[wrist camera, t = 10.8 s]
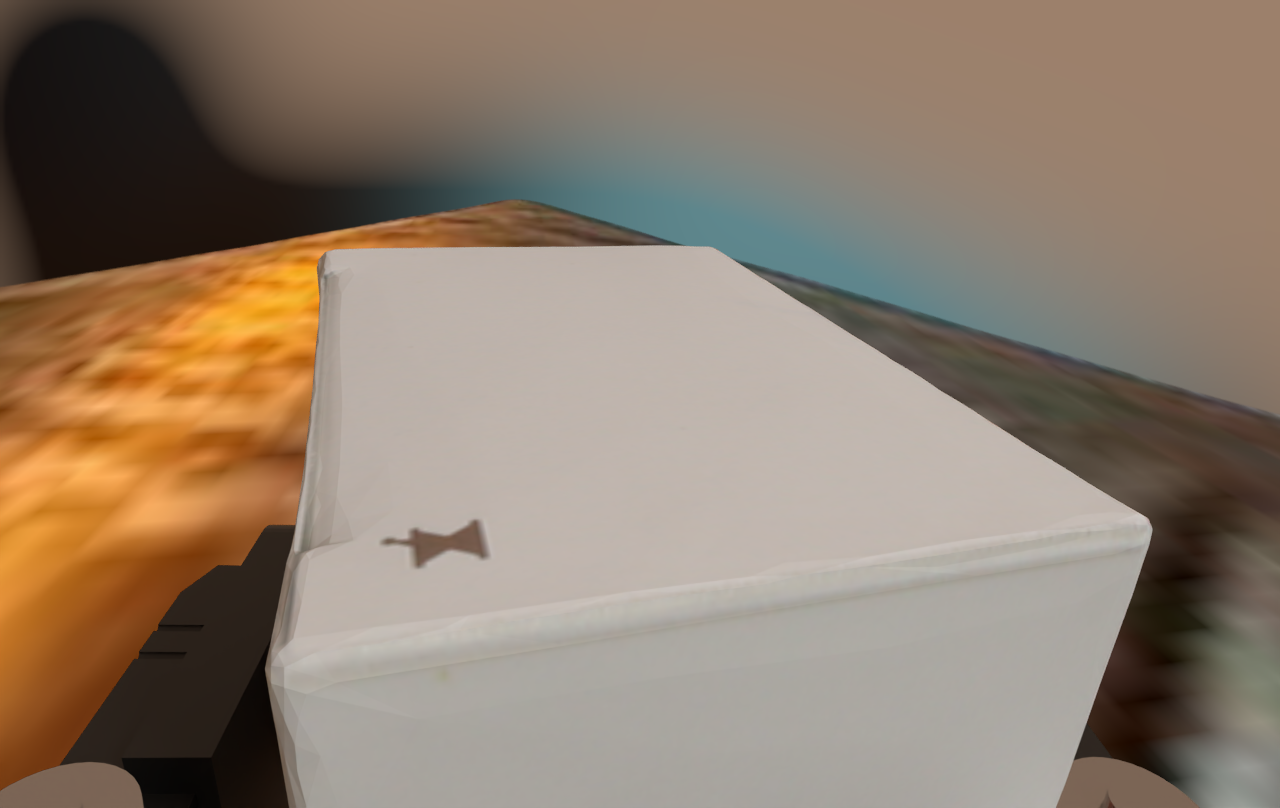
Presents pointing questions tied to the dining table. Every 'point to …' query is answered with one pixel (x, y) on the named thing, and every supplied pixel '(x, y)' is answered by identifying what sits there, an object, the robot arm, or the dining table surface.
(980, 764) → the small box
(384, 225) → the dining table surface
